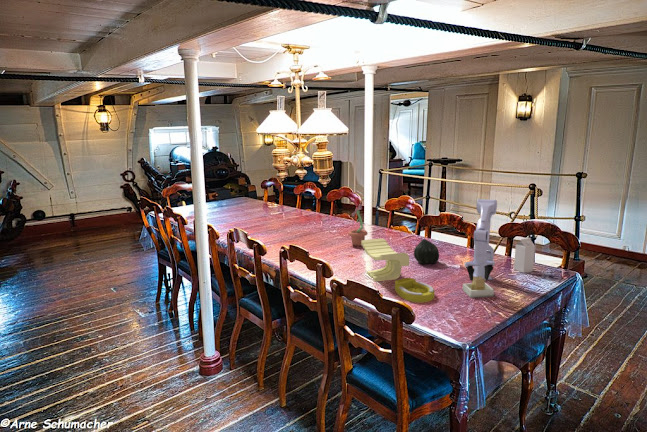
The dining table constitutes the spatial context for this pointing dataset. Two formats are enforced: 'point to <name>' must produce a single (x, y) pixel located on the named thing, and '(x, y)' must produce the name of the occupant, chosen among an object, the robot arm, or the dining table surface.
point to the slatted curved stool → (383, 251)
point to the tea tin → (478, 283)
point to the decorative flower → (358, 234)
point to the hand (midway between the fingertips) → (478, 279)
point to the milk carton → (524, 255)
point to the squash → (426, 252)
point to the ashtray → (414, 290)
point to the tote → (478, 291)
